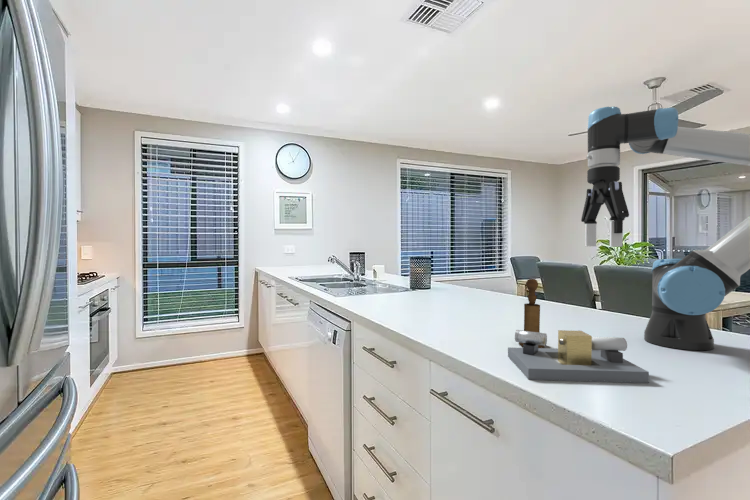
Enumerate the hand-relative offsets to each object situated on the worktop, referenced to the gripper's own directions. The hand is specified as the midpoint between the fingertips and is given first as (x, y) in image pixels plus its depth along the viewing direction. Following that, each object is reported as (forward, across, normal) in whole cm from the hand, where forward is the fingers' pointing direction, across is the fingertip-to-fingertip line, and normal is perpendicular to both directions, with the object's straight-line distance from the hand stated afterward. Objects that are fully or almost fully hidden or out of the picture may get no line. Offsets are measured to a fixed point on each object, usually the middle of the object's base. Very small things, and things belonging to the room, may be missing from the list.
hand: (602, 246), depth 104 cm
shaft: (+24, +17, -24) cm, 38 cm away
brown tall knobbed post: (+27, +2, -19) cm, 33 cm away
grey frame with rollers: (+27, +21, -16) cm, 38 cm away
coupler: (+26, +21, -16) cm, 37 cm away
